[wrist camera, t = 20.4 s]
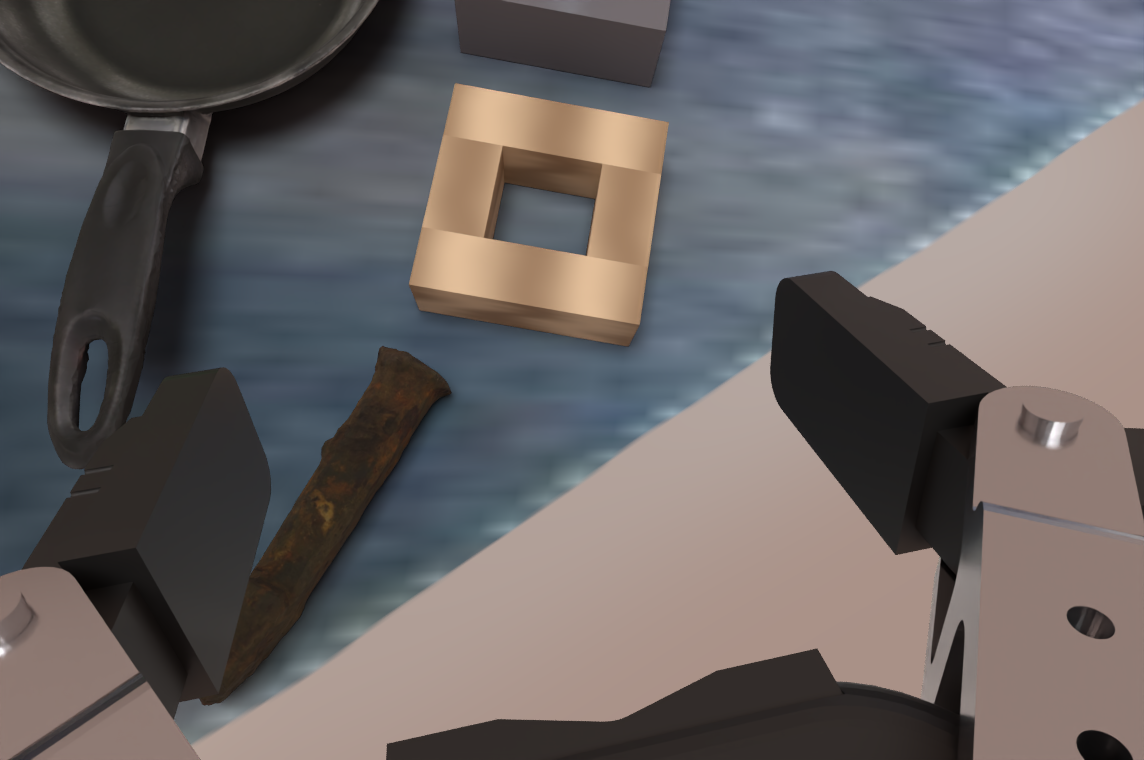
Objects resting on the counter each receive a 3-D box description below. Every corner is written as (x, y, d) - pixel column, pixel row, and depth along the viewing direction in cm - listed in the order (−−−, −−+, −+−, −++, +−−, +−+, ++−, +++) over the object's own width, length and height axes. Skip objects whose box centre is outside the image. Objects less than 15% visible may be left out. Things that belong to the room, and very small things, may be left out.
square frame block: (419, 310, 41) (408, 284, 37) (461, 125, 44) (455, 83, 40) (628, 346, 41) (639, 324, 37) (655, 160, 44) (668, 122, 40)
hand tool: (396, 354, 40) (379, 329, 36) (456, 391, 40) (447, 370, 35) (179, 665, 36) (129, 681, 31) (245, 708, 36) (205, 731, 31)
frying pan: (41, -194, 47) (-36, -315, 41) (428, -163, 49) (413, -274, 42) (-126, 474, 37) (-266, 457, 30) (371, 488, 38) (341, 474, 32)
